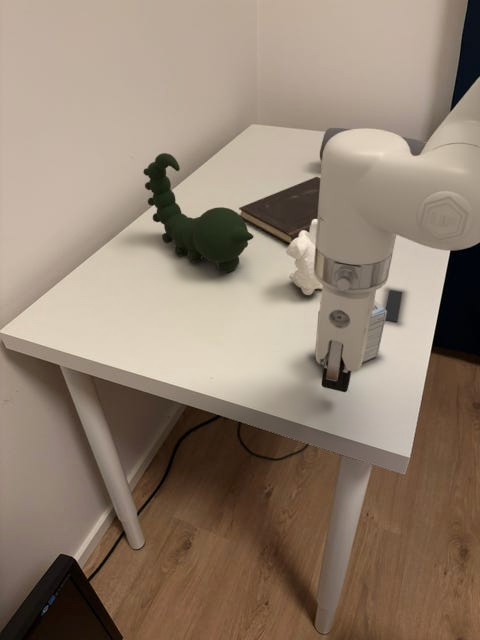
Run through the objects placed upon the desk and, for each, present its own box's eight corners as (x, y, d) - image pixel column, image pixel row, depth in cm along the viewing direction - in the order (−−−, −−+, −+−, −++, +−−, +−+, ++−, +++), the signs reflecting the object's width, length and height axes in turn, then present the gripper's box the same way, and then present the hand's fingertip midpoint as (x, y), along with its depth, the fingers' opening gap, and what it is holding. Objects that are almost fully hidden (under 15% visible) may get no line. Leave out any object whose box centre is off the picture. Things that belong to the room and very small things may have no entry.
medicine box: (359, 339, 71) (366, 291, 66) (378, 358, 68) (388, 309, 63) (313, 357, 69) (317, 309, 63) (331, 377, 66) (337, 328, 60)
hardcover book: (239, 217, 102) (238, 207, 100) (316, 185, 113) (316, 176, 111) (291, 246, 92) (292, 236, 91) (370, 208, 103) (372, 198, 101)
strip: (402, 292, 80) (402, 291, 79) (397, 322, 74) (397, 321, 74) (389, 290, 80) (390, 289, 80) (383, 320, 74) (383, 319, 74)
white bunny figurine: (306, 269, 86) (309, 207, 78) (339, 282, 82) (346, 219, 75) (277, 292, 81) (278, 228, 73) (311, 307, 78) (316, 241, 70)
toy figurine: (147, 253, 95) (238, 293, 80) (124, 157, 84) (224, 182, 69) (183, 235, 100) (275, 269, 85) (166, 142, 89) (267, 162, 74)
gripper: (380, 311, 42) (355, 440, 54) (397, 230, 53) (373, 352, 65) (297, 296, 44) (290, 423, 56) (329, 221, 55) (318, 341, 67)
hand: (335, 385), depth 60 cm, fingers closed
